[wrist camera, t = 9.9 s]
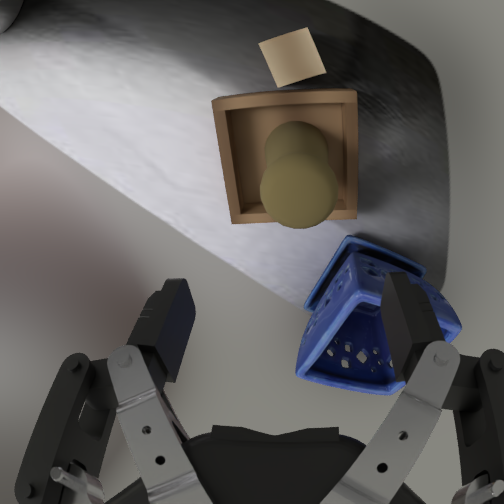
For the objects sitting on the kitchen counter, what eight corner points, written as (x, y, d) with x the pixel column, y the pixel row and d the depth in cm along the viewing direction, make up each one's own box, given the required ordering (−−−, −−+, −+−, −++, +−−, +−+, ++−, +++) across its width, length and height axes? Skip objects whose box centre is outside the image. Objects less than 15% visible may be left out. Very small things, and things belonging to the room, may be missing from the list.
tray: (236, 210, 33) (231, 224, 30) (218, 96, 26) (211, 100, 24) (351, 205, 31) (356, 219, 28) (349, 88, 24) (356, 91, 22)
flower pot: (292, 301, 39) (289, 380, 30) (339, 215, 32) (358, 291, 22) (377, 326, 40) (391, 398, 31) (432, 254, 33) (469, 327, 23)
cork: (333, 126, 26) (357, 163, 17) (323, 185, 29) (337, 248, 20) (267, 116, 26) (254, 148, 17) (261, 177, 30) (247, 237, 21)
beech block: (279, 84, 25) (278, 87, 22) (262, 46, 23) (258, 43, 20) (320, 71, 24) (326, 72, 20) (304, 32, 22) (307, 27, 18)
